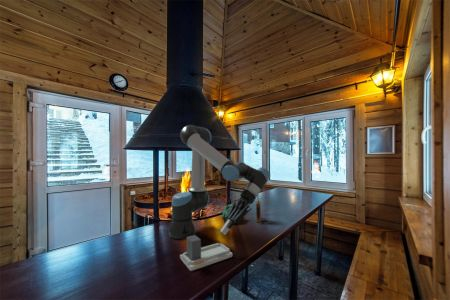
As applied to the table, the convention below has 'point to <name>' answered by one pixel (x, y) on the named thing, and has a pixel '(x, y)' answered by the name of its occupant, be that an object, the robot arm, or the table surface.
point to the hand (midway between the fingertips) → (222, 233)
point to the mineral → (226, 212)
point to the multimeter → (258, 211)
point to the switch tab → (193, 247)
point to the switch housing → (207, 256)
